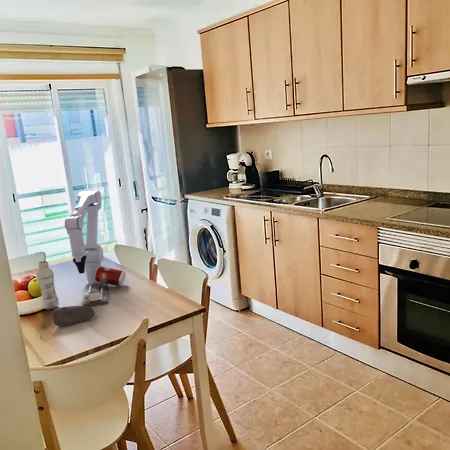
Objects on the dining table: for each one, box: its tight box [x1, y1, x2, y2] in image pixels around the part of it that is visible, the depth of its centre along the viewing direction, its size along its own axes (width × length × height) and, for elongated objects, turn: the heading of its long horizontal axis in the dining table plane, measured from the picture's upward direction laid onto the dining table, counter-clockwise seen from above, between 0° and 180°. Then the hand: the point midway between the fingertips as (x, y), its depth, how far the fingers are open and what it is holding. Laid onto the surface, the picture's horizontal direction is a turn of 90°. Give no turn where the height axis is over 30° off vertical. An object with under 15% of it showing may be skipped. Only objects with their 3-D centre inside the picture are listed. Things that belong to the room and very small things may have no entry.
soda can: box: [95, 265, 126, 287], centre depth 201 cm, size 7×7×12 cm
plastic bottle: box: [36, 260, 60, 310], centre depth 181 cm, size 6×7×20 cm
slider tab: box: [89, 290, 100, 301], centre depth 183 cm, size 3×4×4 cm
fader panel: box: [81, 283, 109, 308], centre depth 192 cm, size 23×10×2 cm, turn 14°
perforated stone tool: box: [51, 305, 96, 327], centre depth 166 cm, size 15×5×7 cm, turn 105°
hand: (82, 273), depth 195 cm, fingers closed
